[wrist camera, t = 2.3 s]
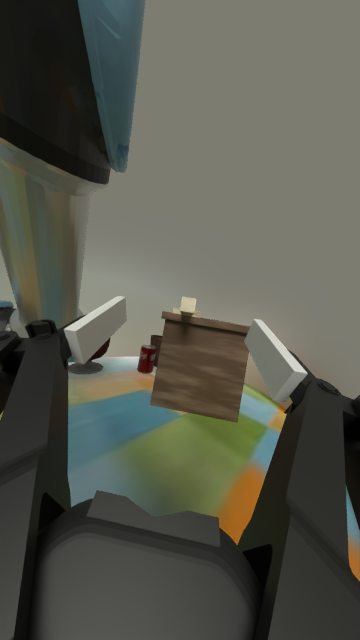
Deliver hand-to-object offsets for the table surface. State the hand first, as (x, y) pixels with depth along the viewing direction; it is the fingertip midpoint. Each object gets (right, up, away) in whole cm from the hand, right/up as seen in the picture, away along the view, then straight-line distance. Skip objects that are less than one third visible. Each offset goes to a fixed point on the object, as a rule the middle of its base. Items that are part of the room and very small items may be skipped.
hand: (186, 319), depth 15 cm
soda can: (-18, -25, +53) cm, 61 cm away
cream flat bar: (+1, +1, +27) cm, 27 cm away
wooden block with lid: (+3, -28, +32) cm, 43 cm away
